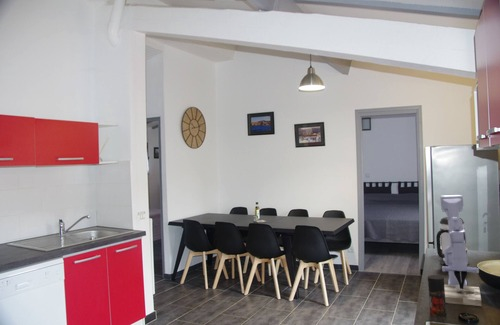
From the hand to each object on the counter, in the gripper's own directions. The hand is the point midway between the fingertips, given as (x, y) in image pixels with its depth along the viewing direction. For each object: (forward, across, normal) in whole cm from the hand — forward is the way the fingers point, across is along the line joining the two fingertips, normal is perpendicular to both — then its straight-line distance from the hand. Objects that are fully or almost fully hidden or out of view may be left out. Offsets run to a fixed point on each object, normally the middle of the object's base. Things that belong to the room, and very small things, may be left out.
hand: (461, 288), depth 177 cm
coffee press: (+2, -4, +58) cm, 59 cm away
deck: (+4, -1, +1) cm, 5 cm away
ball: (0, -1, +1) cm, 1 cm away
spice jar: (+6, -9, -22) cm, 24 cm away
